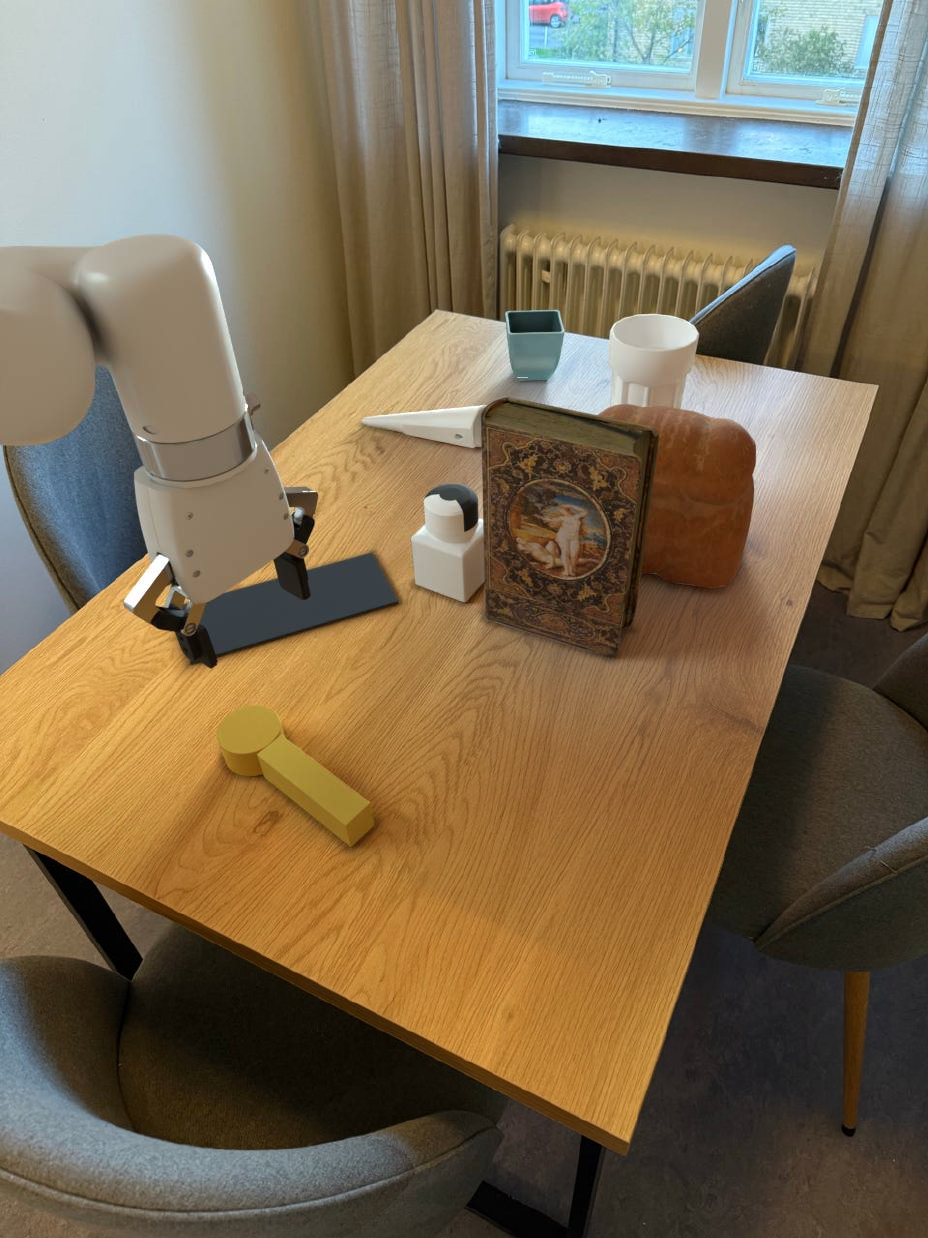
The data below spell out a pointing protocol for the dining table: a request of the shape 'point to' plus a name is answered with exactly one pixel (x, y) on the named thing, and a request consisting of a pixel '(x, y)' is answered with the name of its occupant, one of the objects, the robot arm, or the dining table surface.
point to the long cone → (436, 425)
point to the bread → (696, 495)
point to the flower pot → (534, 343)
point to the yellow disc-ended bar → (292, 771)
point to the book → (564, 520)
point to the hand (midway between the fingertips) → (251, 624)
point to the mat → (295, 605)
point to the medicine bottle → (450, 543)
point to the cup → (651, 360)
